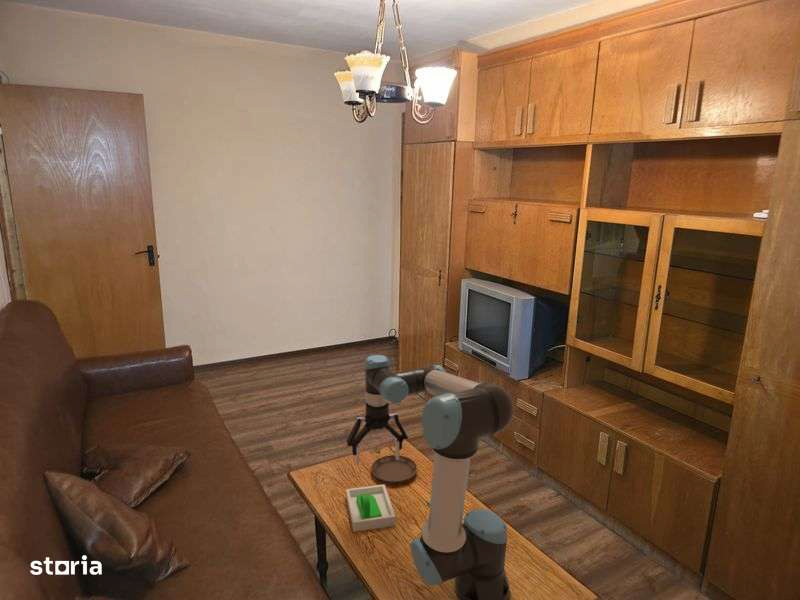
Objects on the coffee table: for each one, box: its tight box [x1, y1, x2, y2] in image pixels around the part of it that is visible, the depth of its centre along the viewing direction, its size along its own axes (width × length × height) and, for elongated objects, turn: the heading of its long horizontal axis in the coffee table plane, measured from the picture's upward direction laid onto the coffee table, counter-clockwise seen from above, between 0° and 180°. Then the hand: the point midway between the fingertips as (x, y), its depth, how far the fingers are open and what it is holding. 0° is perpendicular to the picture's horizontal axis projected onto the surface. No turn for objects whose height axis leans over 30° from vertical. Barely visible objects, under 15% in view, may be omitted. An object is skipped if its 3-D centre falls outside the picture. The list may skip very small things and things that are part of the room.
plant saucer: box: [370, 454, 418, 485], centre depth 199 cm, size 18×18×3 cm
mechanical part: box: [356, 494, 382, 519], centre depth 176 cm, size 12×6×8 cm, turn 17°
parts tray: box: [345, 483, 396, 533], centre depth 177 cm, size 18×14×4 cm
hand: (377, 460), depth 173 cm, fingers open, 13 cm apart
